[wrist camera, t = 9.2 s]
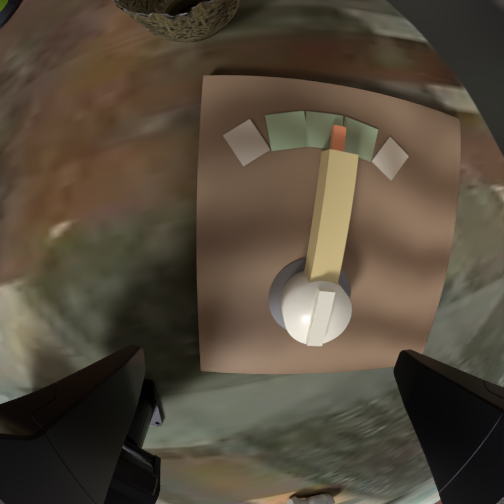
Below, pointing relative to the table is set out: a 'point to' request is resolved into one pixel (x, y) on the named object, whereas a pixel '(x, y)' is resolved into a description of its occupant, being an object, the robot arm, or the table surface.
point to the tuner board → (301, 214)
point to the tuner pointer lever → (324, 253)
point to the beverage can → (7, 10)
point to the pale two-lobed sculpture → (313, 500)
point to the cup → (181, 17)
